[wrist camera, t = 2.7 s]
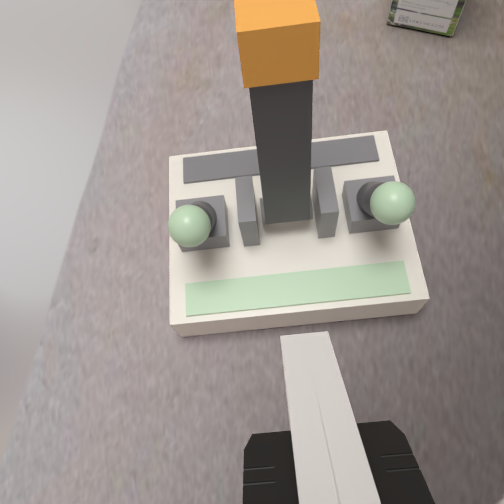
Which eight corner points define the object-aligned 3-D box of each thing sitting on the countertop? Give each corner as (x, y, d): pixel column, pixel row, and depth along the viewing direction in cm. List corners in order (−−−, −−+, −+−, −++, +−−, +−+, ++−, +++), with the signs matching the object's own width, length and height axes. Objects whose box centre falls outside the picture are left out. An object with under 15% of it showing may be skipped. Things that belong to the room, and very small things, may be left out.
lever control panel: (379, 156, 33) (407, 60, 25) (416, 313, 28) (466, 256, 20) (179, 180, 34) (142, 93, 26) (181, 337, 29) (136, 291, 21)
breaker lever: (308, 198, 28) (311, -15, 17) (313, 229, 27) (320, 21, 16) (260, 204, 28) (233, -4, 17) (263, 235, 27) (236, 32, 16)
